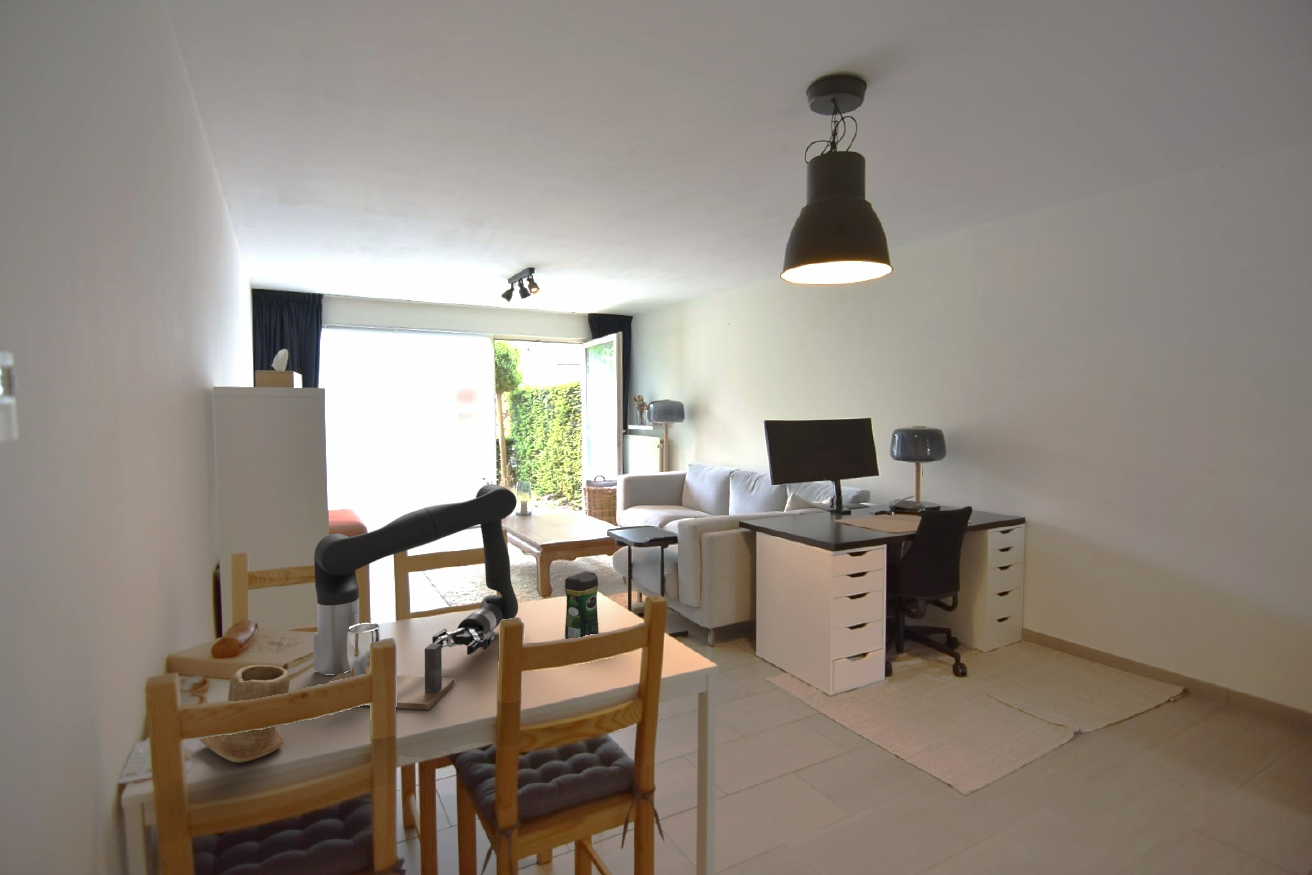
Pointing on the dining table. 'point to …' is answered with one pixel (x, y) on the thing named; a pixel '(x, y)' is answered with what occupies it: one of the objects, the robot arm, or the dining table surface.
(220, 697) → the dining table surface
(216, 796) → the dining table surface
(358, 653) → the beer glass
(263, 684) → the stone cup
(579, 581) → the coffee jar
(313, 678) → the dining table surface
